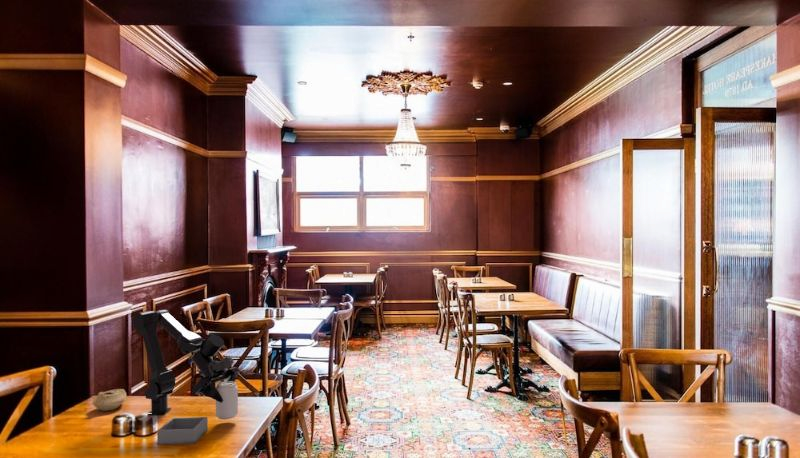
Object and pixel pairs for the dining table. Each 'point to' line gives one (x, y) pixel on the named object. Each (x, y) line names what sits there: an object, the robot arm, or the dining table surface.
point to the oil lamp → (109, 399)
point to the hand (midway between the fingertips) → (229, 398)
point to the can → (227, 400)
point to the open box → (182, 430)
